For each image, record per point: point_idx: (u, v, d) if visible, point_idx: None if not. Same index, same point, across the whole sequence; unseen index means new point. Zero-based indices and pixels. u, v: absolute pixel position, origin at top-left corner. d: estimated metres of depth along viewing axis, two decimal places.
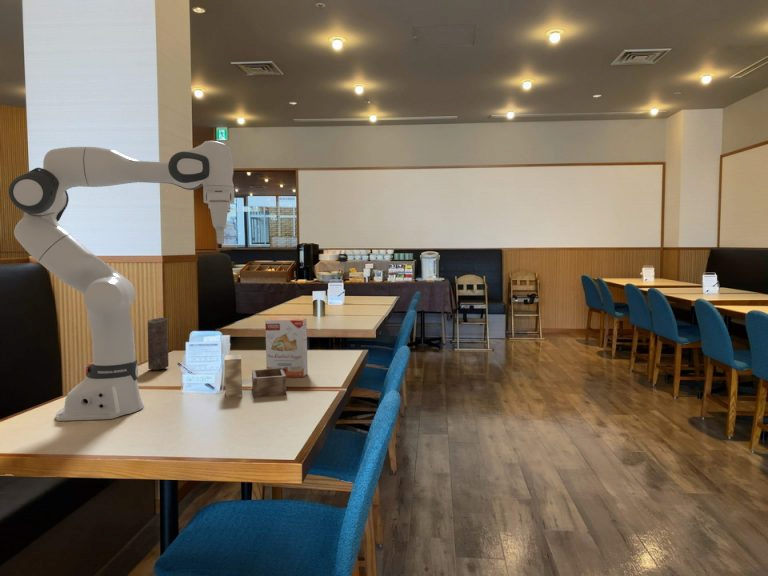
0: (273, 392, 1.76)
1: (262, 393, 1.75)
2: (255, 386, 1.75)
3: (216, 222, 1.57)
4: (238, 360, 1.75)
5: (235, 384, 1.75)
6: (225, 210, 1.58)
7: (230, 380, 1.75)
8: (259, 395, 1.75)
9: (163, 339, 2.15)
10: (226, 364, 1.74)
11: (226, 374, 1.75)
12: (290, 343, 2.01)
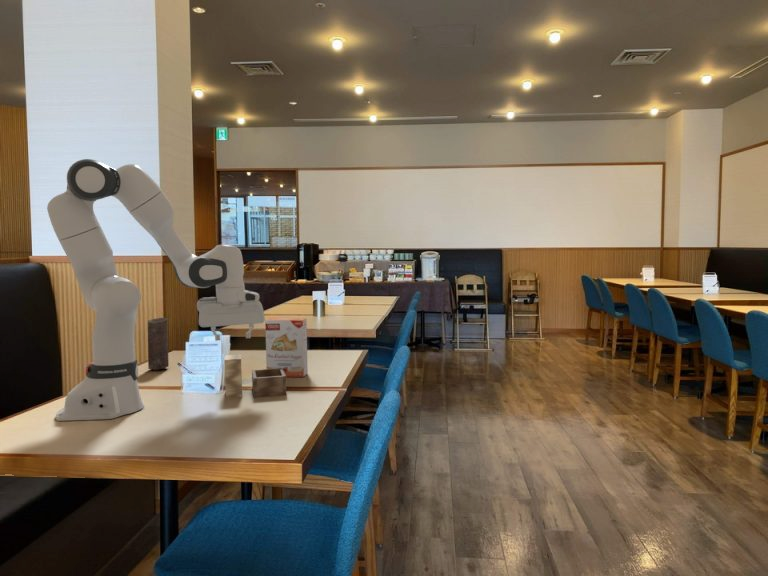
0: (273, 392, 1.76)
1: (262, 393, 1.75)
2: (255, 386, 1.75)
3: (264, 319, 1.80)
4: (238, 360, 1.75)
5: (235, 384, 1.75)
6: None
7: (230, 380, 1.75)
8: (259, 395, 1.75)
9: (163, 339, 2.15)
10: (226, 364, 1.74)
11: (226, 374, 1.75)
12: (290, 343, 2.01)
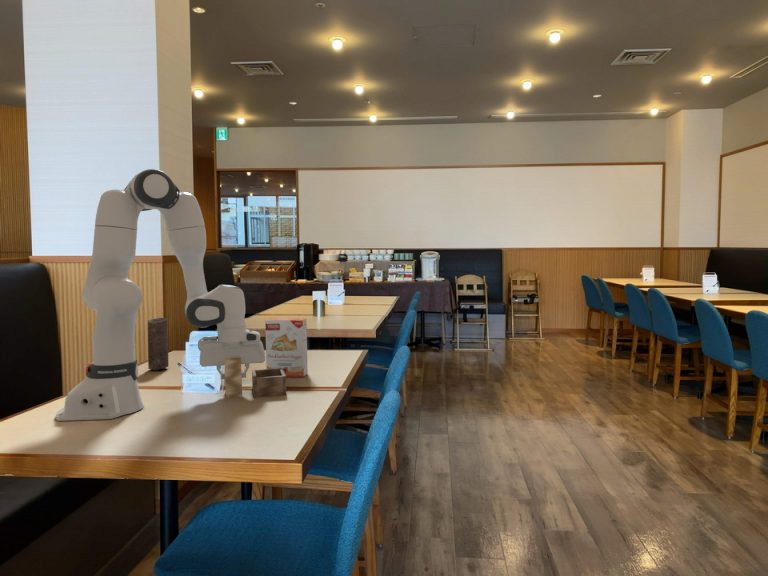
0: (273, 392, 1.76)
1: (262, 393, 1.75)
2: (255, 386, 1.75)
3: None
4: (238, 360, 1.75)
5: (235, 384, 1.75)
6: None
7: (230, 380, 1.75)
8: (259, 395, 1.75)
9: (163, 339, 2.15)
10: (226, 364, 1.74)
11: (226, 374, 1.75)
12: (290, 343, 2.01)
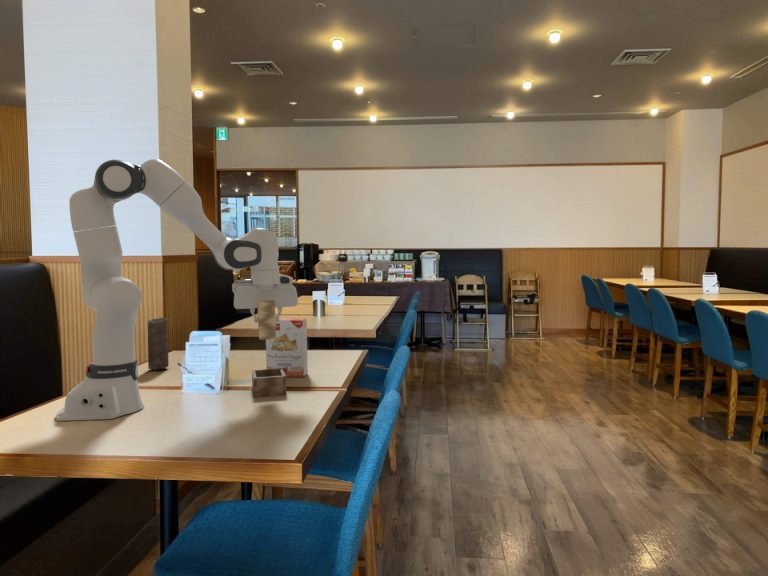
0: (273, 392, 1.76)
1: (262, 393, 1.75)
2: (255, 386, 1.75)
3: (297, 302, 1.82)
4: (272, 302, 1.77)
5: (269, 326, 1.77)
6: None
7: (264, 322, 1.77)
8: (259, 395, 1.75)
9: (163, 339, 2.15)
10: (260, 306, 1.76)
11: (260, 316, 1.76)
12: (290, 343, 2.01)
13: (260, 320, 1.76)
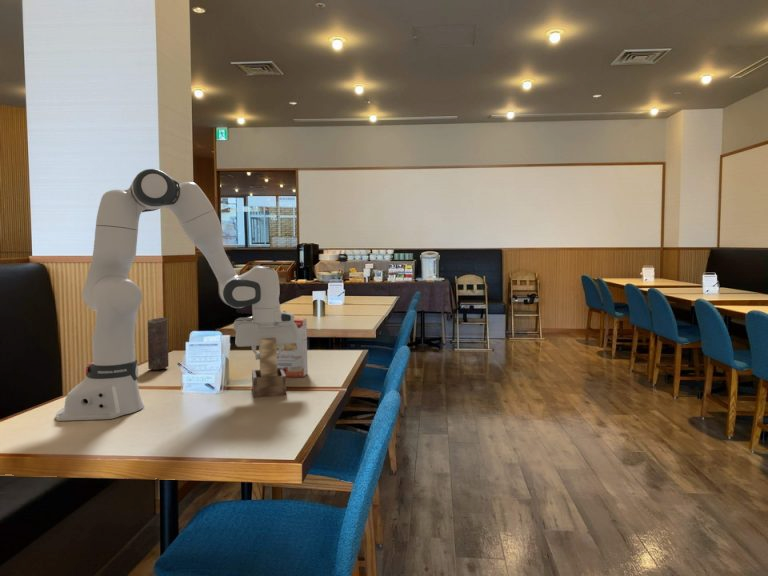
0: (273, 392, 1.76)
1: (262, 393, 1.75)
2: (255, 386, 1.75)
3: (298, 339, 1.83)
4: (273, 340, 1.78)
5: (271, 364, 1.78)
6: None
7: (265, 360, 1.78)
8: (259, 395, 1.75)
9: (163, 339, 2.15)
10: (262, 344, 1.77)
11: (262, 354, 1.77)
12: None
13: (261, 358, 1.77)
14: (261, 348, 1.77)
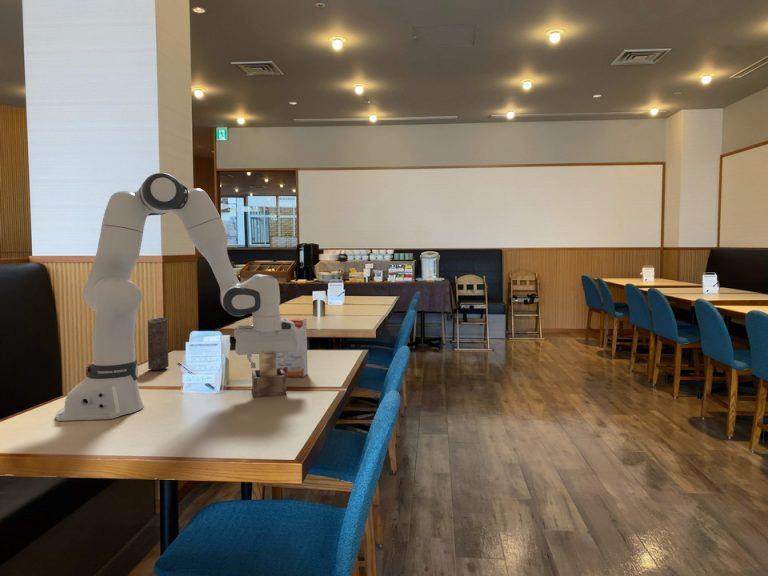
0: (273, 392, 1.76)
1: (262, 393, 1.75)
2: (255, 386, 1.75)
3: (298, 347, 1.83)
4: (273, 354, 1.78)
5: None
6: None
7: (265, 374, 1.78)
8: (259, 395, 1.75)
9: (163, 339, 2.15)
10: (261, 358, 1.77)
11: (261, 368, 1.77)
12: None
13: (261, 372, 1.77)
14: (261, 362, 1.77)
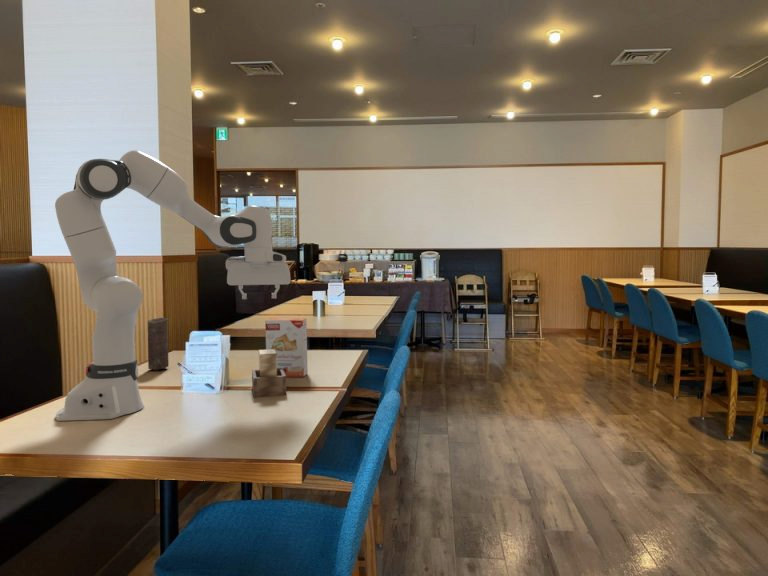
0: (273, 392, 1.76)
1: (262, 393, 1.75)
2: (255, 386, 1.75)
3: (290, 280, 1.84)
4: (273, 354, 1.78)
5: None
6: None
7: (265, 374, 1.78)
8: (259, 395, 1.75)
9: (163, 339, 2.15)
10: (261, 358, 1.77)
11: (261, 368, 1.77)
12: (290, 343, 2.01)
13: (261, 372, 1.77)
14: (261, 362, 1.77)
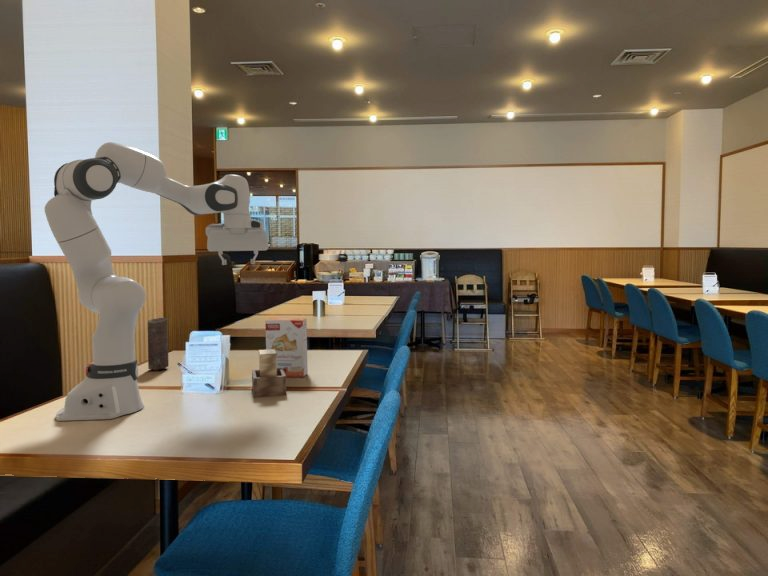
0: (273, 392, 1.76)
1: (262, 393, 1.75)
2: (255, 386, 1.75)
3: None
4: (273, 354, 1.78)
5: None
6: None
7: (265, 374, 1.78)
8: (259, 395, 1.75)
9: (163, 339, 2.15)
10: (261, 358, 1.77)
11: (261, 368, 1.77)
12: (290, 343, 2.01)
13: (261, 372, 1.77)
14: (261, 362, 1.77)
